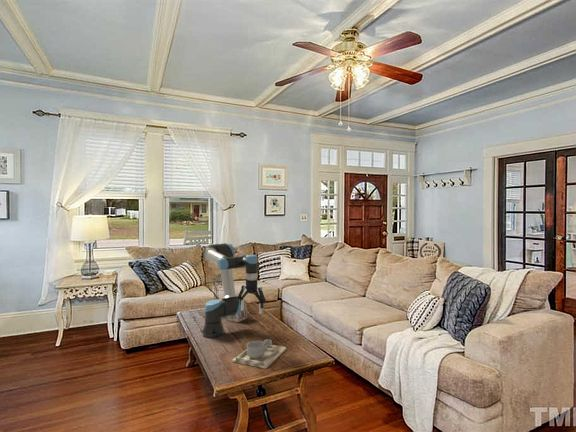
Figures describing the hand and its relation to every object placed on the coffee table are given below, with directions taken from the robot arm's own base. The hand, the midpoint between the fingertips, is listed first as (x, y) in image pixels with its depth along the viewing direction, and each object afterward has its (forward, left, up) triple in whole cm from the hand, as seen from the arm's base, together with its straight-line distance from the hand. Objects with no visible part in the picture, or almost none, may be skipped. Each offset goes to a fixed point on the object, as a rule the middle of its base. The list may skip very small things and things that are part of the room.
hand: (251, 311), depth 214 cm
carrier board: (+11, -9, -23) cm, 27 cm away
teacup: (+12, -13, -22) cm, 28 cm away
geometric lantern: (-57, +49, -23) cm, 78 cm away
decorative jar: (-38, +42, -23) cm, 61 cm away
